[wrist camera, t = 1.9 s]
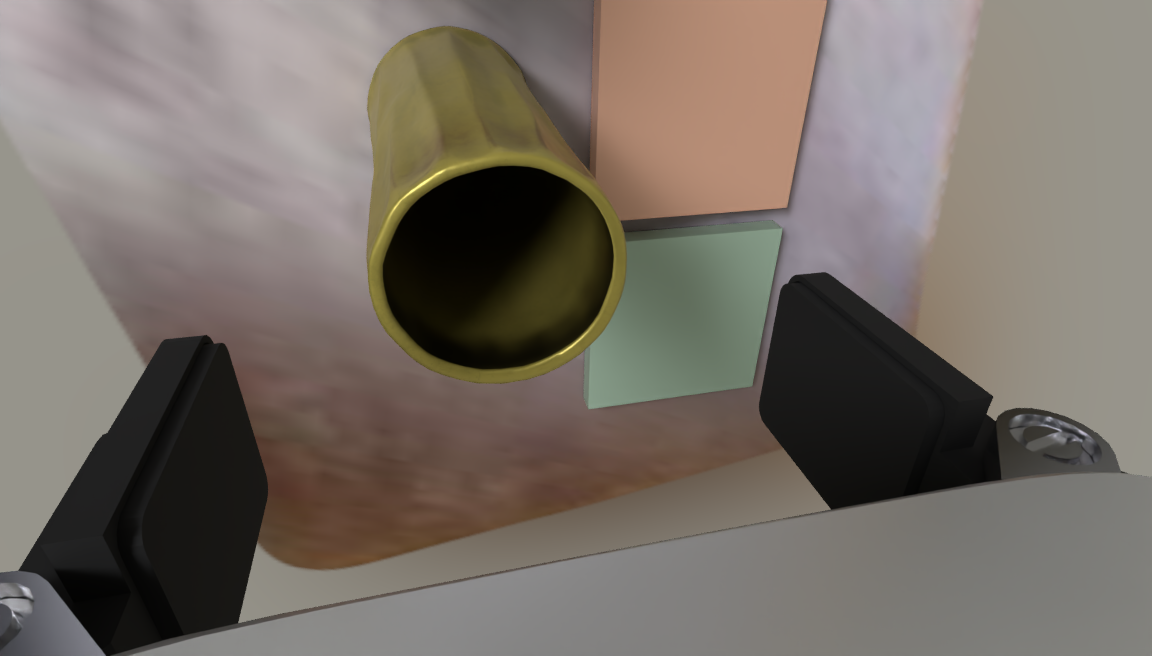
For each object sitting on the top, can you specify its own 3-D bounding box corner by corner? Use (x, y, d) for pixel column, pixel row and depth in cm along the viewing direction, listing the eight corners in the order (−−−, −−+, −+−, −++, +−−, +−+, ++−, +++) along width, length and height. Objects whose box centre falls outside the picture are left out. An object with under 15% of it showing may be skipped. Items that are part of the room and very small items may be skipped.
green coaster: (587, 235, 29) (593, 244, 28) (772, 220, 31) (782, 228, 30) (583, 397, 33) (588, 409, 33) (743, 375, 35) (752, 386, 34)
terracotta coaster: (594, -21, 24) (601, -19, 23) (816, -20, 25) (830, -18, 25) (588, 214, 28) (594, 222, 27) (776, 200, 30) (786, 207, 29)
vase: (332, 83, 23) (268, 242, 11) (476, -10, 23) (565, 56, 11) (430, 217, 27) (460, 447, 15) (557, 139, 26) (693, 310, 14)
